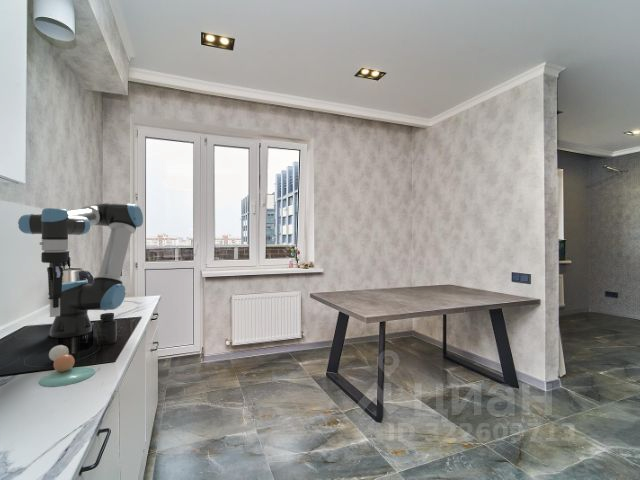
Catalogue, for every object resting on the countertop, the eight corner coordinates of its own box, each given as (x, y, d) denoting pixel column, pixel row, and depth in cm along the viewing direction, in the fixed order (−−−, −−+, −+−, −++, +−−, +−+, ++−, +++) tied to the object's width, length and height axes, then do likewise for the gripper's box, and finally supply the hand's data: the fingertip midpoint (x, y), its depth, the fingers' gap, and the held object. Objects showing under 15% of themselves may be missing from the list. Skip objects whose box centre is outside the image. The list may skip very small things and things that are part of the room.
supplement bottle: (120, 341, 137) (120, 313, 137) (103, 346, 131) (104, 316, 131) (109, 339, 140) (110, 311, 140) (93, 344, 134) (93, 314, 134)
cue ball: (51, 346, 112) (51, 363, 111) (71, 343, 116) (70, 359, 115) (47, 346, 115) (46, 363, 114) (66, 344, 120) (65, 359, 118)
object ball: (53, 353, 105) (55, 368, 102) (74, 349, 109) (77, 363, 106) (51, 362, 107) (53, 377, 105) (72, 357, 111) (74, 372, 109)
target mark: (35, 376, 103) (35, 375, 103) (88, 364, 113) (88, 363, 113) (43, 391, 93) (43, 390, 93) (100, 376, 104) (100, 375, 104)
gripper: (38, 250, 120) (38, 314, 120) (44, 252, 111) (44, 321, 112) (64, 250, 125) (64, 311, 126) (72, 252, 117) (71, 317, 117)
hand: (54, 316), depth 119 cm, fingers closed
